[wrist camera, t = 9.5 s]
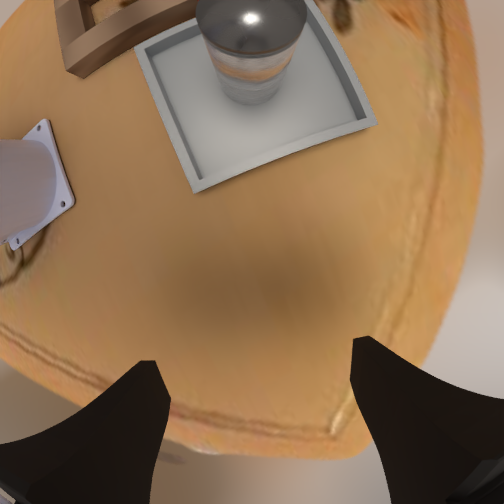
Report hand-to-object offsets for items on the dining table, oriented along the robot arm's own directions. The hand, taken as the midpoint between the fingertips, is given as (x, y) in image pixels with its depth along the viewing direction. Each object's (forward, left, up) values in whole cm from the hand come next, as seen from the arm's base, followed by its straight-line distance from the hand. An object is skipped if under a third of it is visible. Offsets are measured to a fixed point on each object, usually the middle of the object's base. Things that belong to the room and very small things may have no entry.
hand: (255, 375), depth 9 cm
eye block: (-1, +24, -10) cm, 26 cm away
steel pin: (+5, +12, -10) cm, 16 cm away
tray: (+5, +12, -10) cm, 17 cm away
